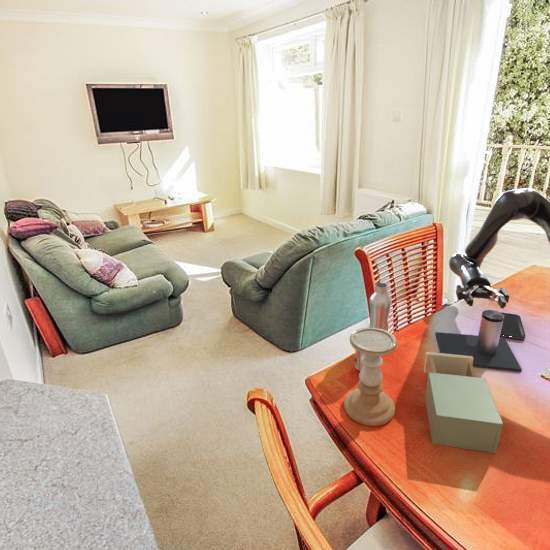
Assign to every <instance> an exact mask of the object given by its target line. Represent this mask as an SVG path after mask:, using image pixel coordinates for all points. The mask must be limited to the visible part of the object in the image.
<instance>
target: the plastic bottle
mask: <svg viewBox="0 0 550 550" xmlns="http://www.w3.org/2000/svg"><path fill="white" fill-rule="evenodd" d="M391 307H392V298H391V296H390V295H389V285H388V284H387V283H385V282H376V283H375V285H374V292H373V293H372V294H371V296H370V297H369V312H370V319H369V327H371V328H379V329H383V330H386V331H388V332H390V329H389V317H390V311H391ZM369 327H368V328H369Z"/></svg>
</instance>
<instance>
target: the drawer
mask: <svg viewBox="0 0 550 550" xmlns="http://www.w3.org/2000/svg"><path fill="white" fill-rule="evenodd" d="M472 364H473V356H465V355H454V354H444V353H440V352H432V351H425V358H424V367H423V373H424V374H427V375H428V373H429V372H431V373H440V374H449V375H458V376H467V377H476V378H478V376H477V373H476V371H475V367H473V365H472Z"/></svg>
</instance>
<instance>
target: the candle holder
mask: <svg viewBox="0 0 550 550" xmlns="http://www.w3.org/2000/svg"><path fill="white" fill-rule="evenodd" d="M349 343H350V346H351V347H352V348H353V349H354V350H357V351H359V352H361V353H363V354H364V355H363V356H362V357H361V362H362V363H363V366H362V369H361V371H359V374H358V379H359V381H358V382H357V388H355V389H352V390H351V391H349V392H348V393H347V394H346V396H345V397H344V399H343V408H344V412H345V413H346V414H347V416H348V417H349V418H350V419H351V420H353V421H354V422H356V423H358V424H360V425H363V426H368V427H380V426H383V425H386V424H388V423H390V422H391V420H392V419H393V418H394V416H395V413H396V405H395V403H394V401H393V399H392V398H391V396H389V395H388V394H387V393H385V392H384V391H383V389H384V386H383V381H384V377H383V372H382V370H381V367H382V365H383V363H384V360H383V357H382V356H386V355H389V354H391V353H393V352H394V351H396V349H397V346H398V341H397V338H396V336H395V335H394V334H392V333H391V332H390V331H389V332H388V331H386V330H383V329H379V328H371V327H361V328H358V329H356V330H354V331H352V333H351V334H350V335H349Z"/></svg>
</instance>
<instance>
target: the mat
mask: <svg viewBox="0 0 550 550" xmlns="http://www.w3.org/2000/svg"><path fill="white" fill-rule="evenodd" d="M434 335H435V337H436V342H437V347H438V350H439V353H444V354H454V355H465V356H473V364H472V365H473V368H480V369H482V368H483V369H491V370H492V369H493V370H501V371H511V372H519V373H522V370H523V369H522V367H521V365H520V364H519V361H518V360H517V358H516V356H515V354H514V352H513V350H512V349H511V347H510V345H509V343H508V342H507V340H506V337H500V338H499V343H498V348H497V352H496V354H494V355H485V354H482V353H480V352H478V351H477V350H476V344H477V339H478V335H476V334H475V335H474V334H465V333H464V334H462V333H452V332H439V331H435V333H434Z"/></svg>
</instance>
